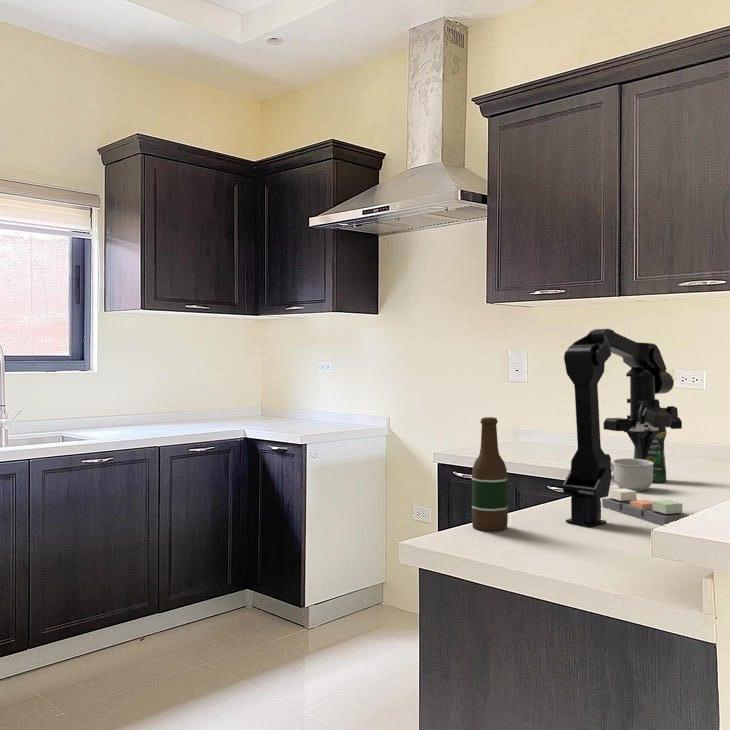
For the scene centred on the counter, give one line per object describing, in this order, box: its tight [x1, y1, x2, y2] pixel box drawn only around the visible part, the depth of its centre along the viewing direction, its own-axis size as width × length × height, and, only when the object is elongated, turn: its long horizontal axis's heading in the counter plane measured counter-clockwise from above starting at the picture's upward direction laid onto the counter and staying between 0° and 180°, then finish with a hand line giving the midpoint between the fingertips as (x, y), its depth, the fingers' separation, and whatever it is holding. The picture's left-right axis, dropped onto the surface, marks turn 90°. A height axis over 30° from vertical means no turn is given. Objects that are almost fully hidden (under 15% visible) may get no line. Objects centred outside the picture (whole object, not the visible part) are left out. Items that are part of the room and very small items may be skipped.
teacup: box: [611, 458, 654, 492], centre depth 208 cm, size 14×11×8 cm
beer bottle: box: [471, 416, 509, 533], centre depth 161 cm, size 8×8×24 cm
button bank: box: [601, 497, 690, 526], centre depth 173 cm, size 23×7×2 cm, turn 16°
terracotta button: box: [630, 499, 653, 509], centre depth 173 cm, size 4×4×2 cm
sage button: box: [651, 499, 683, 514], centre depth 166 cm, size 4×4×2 cm
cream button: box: [609, 488, 638, 501], centre depth 181 cm, size 4×4×2 cm
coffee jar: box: [633, 421, 668, 484], centre depth 221 cm, size 10×8×19 cm
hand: (643, 458), depth 182 cm, fingers closed
